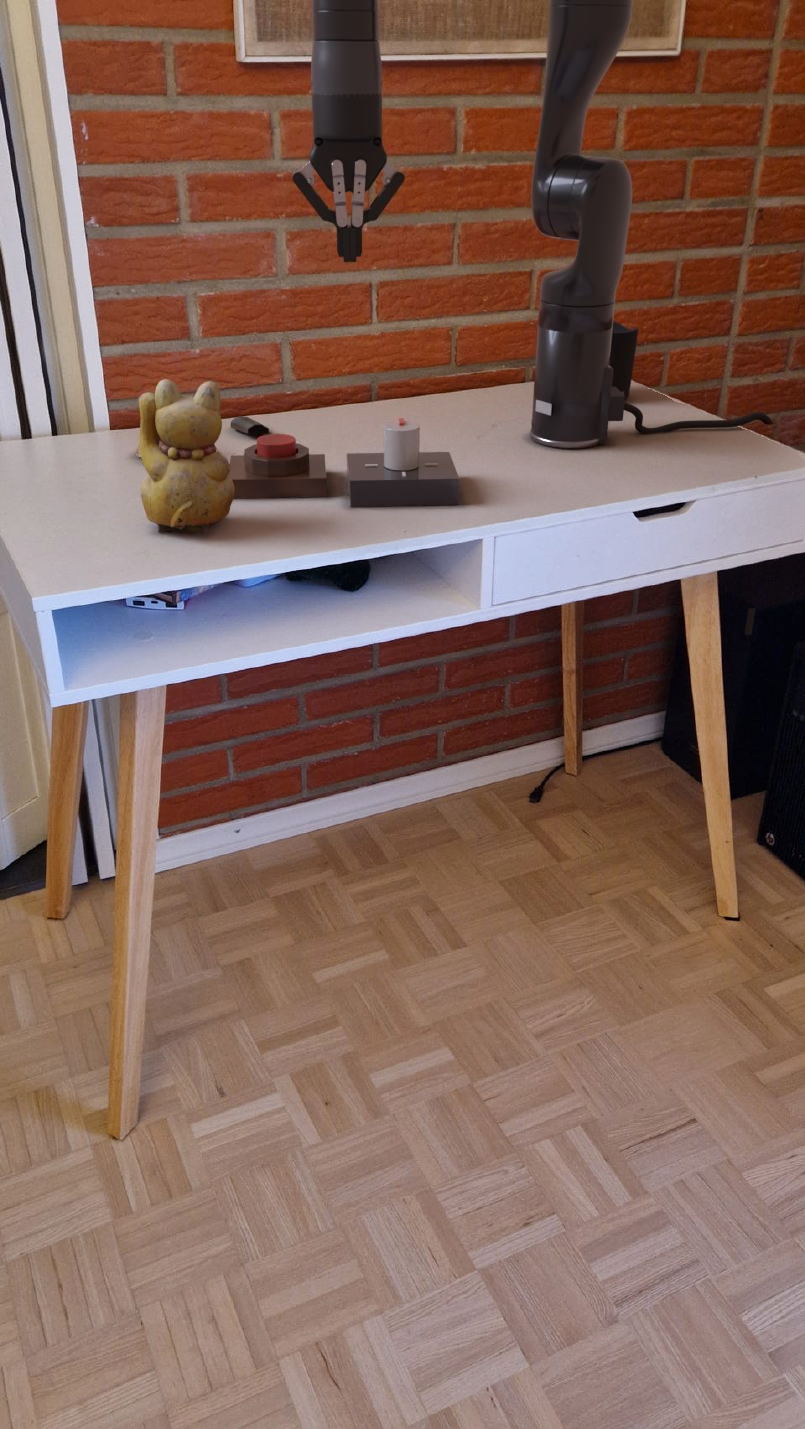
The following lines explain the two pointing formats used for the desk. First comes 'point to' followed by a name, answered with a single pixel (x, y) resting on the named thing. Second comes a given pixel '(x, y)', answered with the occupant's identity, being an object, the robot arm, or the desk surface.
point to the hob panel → (402, 481)
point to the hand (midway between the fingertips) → (350, 261)
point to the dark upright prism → (622, 356)
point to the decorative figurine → (183, 459)
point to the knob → (401, 445)
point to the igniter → (278, 475)
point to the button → (276, 445)
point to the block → (248, 426)
